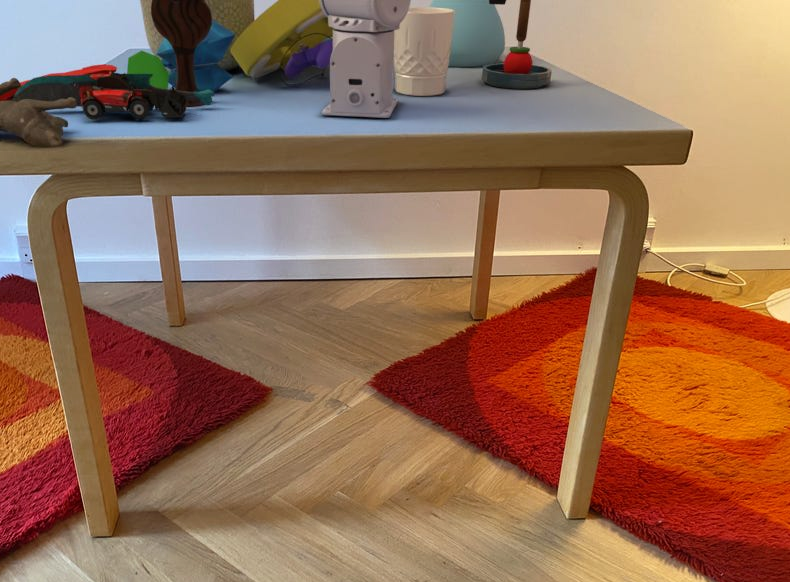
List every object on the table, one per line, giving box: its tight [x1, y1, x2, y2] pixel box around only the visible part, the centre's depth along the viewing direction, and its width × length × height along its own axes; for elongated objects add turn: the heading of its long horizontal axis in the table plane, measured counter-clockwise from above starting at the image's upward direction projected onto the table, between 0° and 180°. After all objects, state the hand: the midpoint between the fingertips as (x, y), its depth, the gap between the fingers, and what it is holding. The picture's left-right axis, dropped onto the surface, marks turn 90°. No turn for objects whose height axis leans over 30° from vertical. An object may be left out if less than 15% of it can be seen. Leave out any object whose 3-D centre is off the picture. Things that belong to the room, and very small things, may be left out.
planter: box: [139, 0, 256, 72], centre depth 105 cm, size 17×17×15 cm
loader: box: [73, 72, 187, 121], centre depth 80 cm, size 12×5×5 cm, turn 94°
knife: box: [12, 74, 215, 107], centre depth 83 cm, size 24×1×5 cm, turn 97°
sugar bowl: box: [428, 0, 506, 68], centre depth 115 cm, size 15×15×12 cm
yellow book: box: [231, 0, 334, 79], centre depth 100 cm, size 16×21×5 cm
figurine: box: [151, 0, 212, 108], centre depth 84 cm, size 7×5×18 cm
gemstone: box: [126, 50, 170, 89], centre depth 92 cm, size 6×6×6 cm
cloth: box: [0, 64, 118, 102], centre depth 92 cm, size 26×14×2 cm, turn 175°
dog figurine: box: [0, 77, 78, 148], centre depth 72 cm, size 12×6×7 cm
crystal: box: [156, 20, 236, 92], centre depth 93 cm, size 7×9×12 cm
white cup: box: [393, 6, 455, 97], centre depth 93 cm, size 8×8×10 cm
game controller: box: [279, 33, 333, 87], centre depth 97 cm, size 10×8×10 cm
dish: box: [481, 62, 553, 90], centre depth 101 cm, size 10×10×2 cm
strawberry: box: [503, 0, 533, 74], centre depth 98 cm, size 4×4×11 cm
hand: (497, 2), depth 97 cm, fingers open, 7 cm apart
